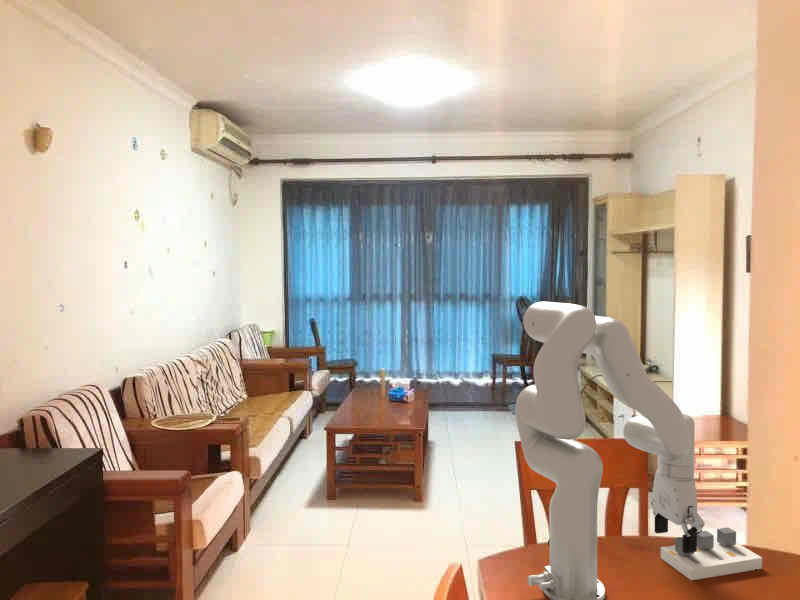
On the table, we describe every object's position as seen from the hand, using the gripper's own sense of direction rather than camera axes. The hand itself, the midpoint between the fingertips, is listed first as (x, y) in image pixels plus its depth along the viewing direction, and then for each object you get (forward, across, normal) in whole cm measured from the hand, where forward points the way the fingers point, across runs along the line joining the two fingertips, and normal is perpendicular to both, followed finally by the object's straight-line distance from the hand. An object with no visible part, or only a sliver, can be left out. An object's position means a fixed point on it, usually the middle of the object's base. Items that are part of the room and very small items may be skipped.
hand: (674, 541), depth 138 cm
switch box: (+4, +4, +6) cm, 8 cm away
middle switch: (+1, +2, +6) cm, 6 cm away
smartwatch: (+4, -9, -24) cm, 26 cm away
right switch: (+1, +2, +12) cm, 12 cm away
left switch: (+1, +3, 0) cm, 3 cm away
